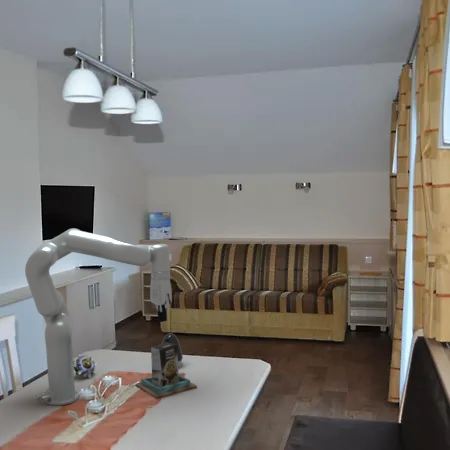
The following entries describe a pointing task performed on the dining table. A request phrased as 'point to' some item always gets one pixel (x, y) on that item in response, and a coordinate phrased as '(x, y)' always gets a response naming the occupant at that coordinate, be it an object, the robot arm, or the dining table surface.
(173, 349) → the coffee box
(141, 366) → the dining table surface
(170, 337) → the dark grey speaker
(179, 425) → the dining table surface
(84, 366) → the passion flower
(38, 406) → the dining table surface
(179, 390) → the board
